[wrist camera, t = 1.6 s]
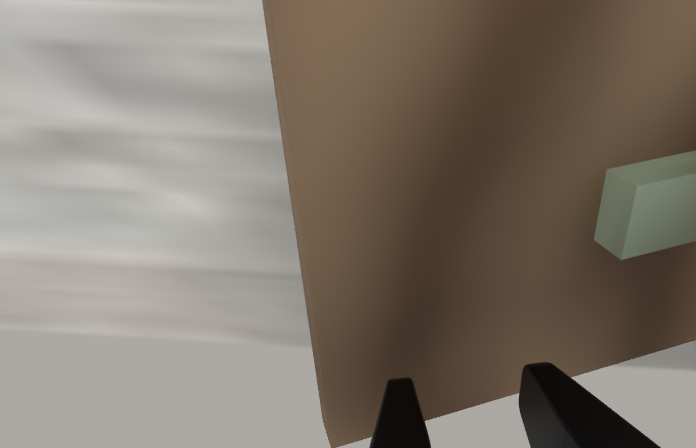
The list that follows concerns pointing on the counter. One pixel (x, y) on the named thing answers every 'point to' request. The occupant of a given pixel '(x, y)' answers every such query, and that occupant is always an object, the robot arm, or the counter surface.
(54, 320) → the counter surface
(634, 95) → the instrument deck
